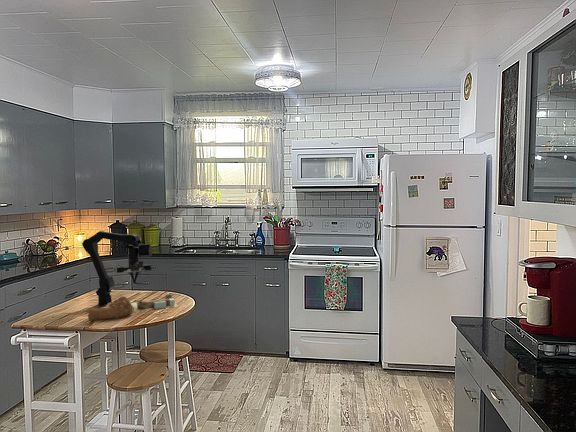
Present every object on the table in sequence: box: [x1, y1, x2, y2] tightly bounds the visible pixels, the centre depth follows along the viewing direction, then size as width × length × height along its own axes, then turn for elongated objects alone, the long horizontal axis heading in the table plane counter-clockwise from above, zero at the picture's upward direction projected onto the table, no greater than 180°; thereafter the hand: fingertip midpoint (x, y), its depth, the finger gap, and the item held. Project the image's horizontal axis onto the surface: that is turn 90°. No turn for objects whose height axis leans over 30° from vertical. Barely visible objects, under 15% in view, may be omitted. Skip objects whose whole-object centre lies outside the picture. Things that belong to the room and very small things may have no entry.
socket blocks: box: [154, 297, 176, 310], centre depth 259 cm, size 11×7×3 cm, turn 114°
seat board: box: [130, 293, 179, 312], centre depth 264 cm, size 23×21×4 cm
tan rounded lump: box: [87, 296, 133, 323], centre depth 239 cm, size 19×11×15 cm
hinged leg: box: [136, 298, 169, 309], centre depth 258 cm, size 16×4×4 cm, turn 117°
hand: (134, 283), depth 270 cm, fingers closed
